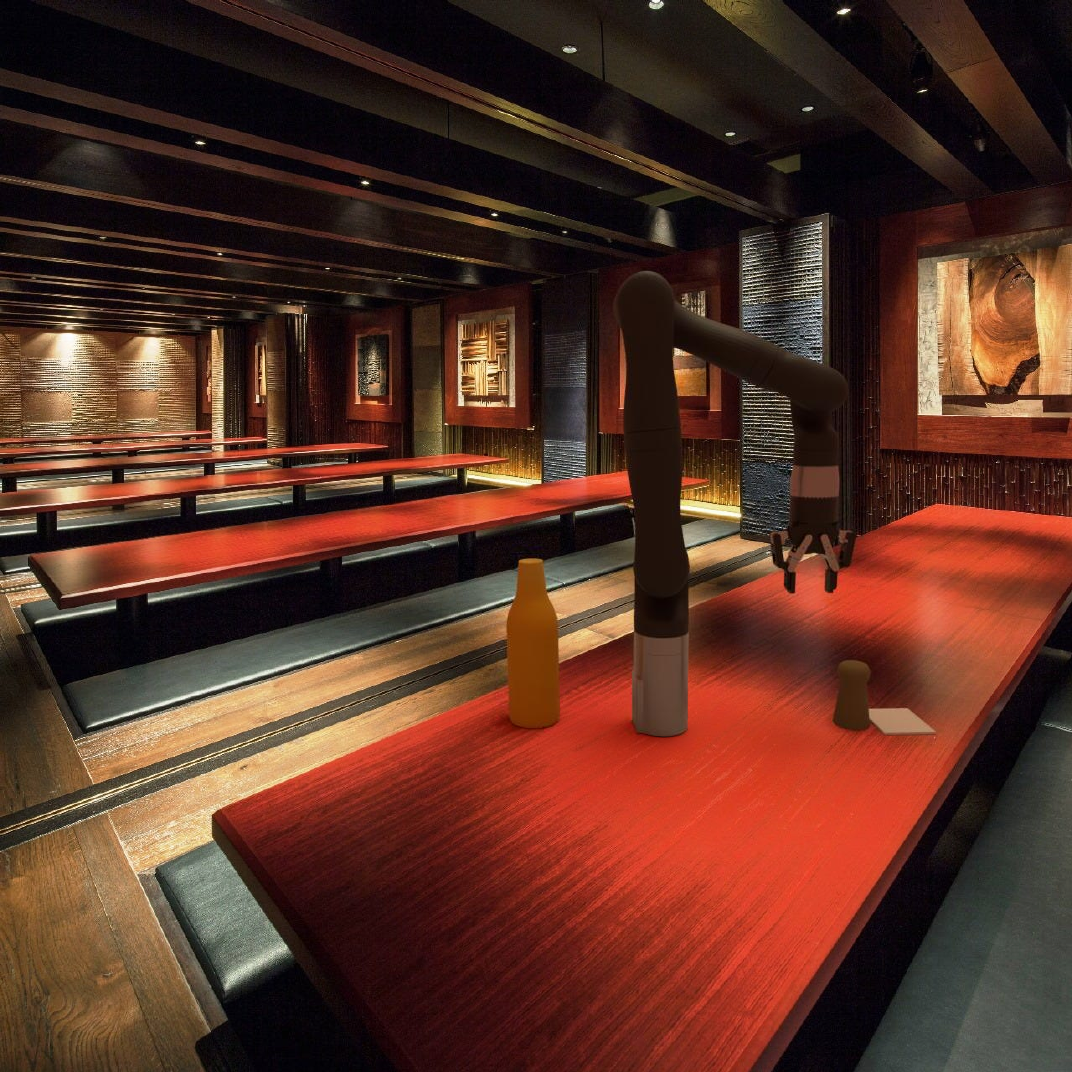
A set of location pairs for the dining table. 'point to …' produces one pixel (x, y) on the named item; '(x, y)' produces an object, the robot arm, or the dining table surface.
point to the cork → (852, 696)
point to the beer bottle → (532, 651)
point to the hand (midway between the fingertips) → (810, 592)
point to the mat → (898, 722)
